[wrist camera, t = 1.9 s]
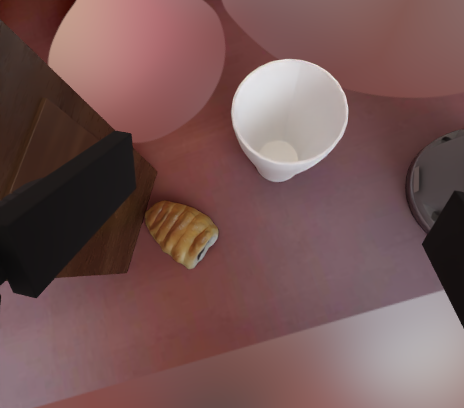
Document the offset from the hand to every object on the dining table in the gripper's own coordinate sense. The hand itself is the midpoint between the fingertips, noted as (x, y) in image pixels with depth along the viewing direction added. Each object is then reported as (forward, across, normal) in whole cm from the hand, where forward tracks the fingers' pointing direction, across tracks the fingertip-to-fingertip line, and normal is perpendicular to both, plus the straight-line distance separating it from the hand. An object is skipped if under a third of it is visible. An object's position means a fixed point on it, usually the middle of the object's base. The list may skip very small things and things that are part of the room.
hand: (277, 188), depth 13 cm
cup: (+26, 0, -11) cm, 29 cm away
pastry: (+18, -10, -20) cm, 28 cm away
